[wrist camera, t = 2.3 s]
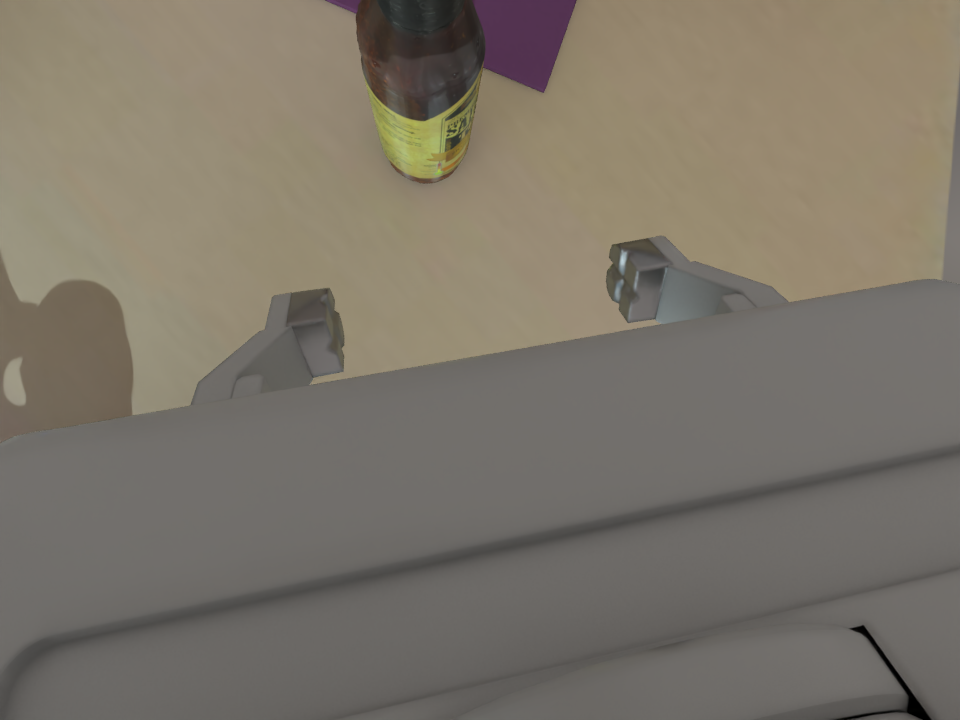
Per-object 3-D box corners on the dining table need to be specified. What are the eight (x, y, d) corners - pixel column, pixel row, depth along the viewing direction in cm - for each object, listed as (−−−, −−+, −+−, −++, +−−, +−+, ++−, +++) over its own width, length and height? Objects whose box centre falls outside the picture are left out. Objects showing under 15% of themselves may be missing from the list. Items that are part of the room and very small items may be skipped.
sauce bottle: (459, 194, 36) (492, 33, 16) (375, 176, 35) (301, -15, 15) (475, 105, 35) (528, -172, 16) (390, 85, 35) (334, -230, 15)
